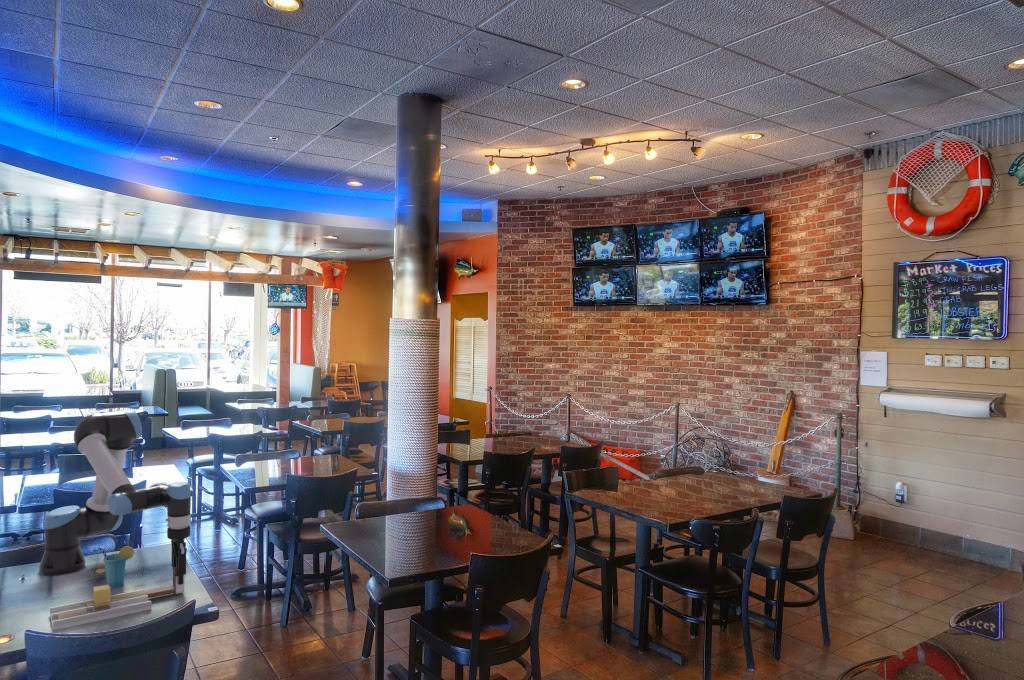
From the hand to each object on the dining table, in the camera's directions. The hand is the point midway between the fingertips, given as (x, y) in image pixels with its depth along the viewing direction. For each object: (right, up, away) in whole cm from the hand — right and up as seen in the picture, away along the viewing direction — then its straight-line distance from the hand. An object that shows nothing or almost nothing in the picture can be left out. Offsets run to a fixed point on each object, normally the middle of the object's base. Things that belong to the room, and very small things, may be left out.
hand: (178, 590), depth 252 cm
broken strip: (-20, 0, -23) cm, 30 cm away
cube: (-19, +2, -14) cm, 24 cm away
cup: (-27, -1, +6) cm, 28 cm away
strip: (-11, 0, -8) cm, 14 cm away
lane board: (-18, -1, -17) cm, 25 cm away
